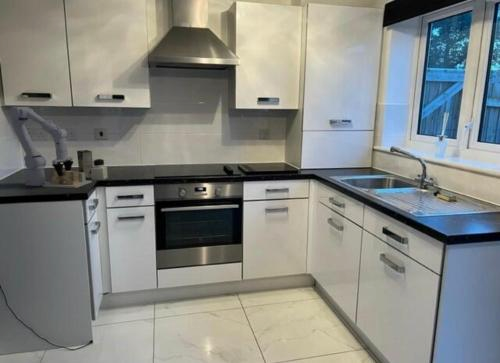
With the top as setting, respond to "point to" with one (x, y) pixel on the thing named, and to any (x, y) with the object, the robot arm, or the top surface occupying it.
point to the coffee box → (85, 162)
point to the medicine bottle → (99, 170)
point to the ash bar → (65, 176)
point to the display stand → (69, 182)
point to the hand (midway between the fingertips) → (64, 175)
